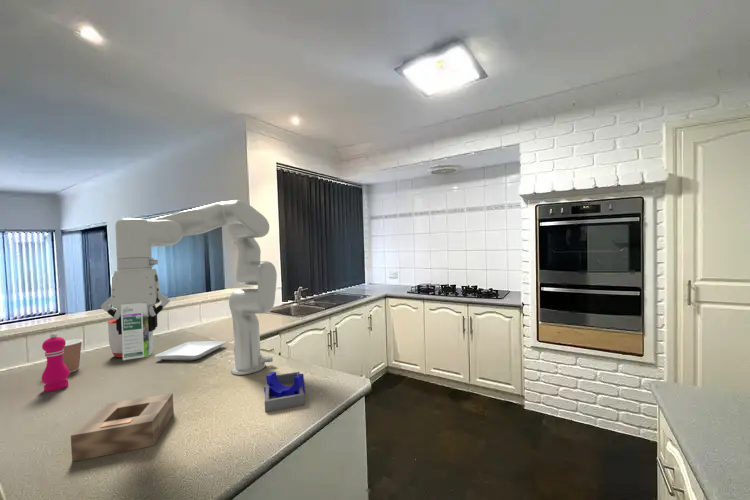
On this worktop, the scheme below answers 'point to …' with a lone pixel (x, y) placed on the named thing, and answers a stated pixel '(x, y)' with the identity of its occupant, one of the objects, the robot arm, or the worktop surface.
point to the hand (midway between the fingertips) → (137, 331)
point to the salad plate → (190, 350)
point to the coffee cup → (72, 354)
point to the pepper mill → (54, 364)
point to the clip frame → (287, 400)
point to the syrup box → (136, 331)
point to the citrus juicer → (115, 339)
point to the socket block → (122, 427)
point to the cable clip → (279, 389)
